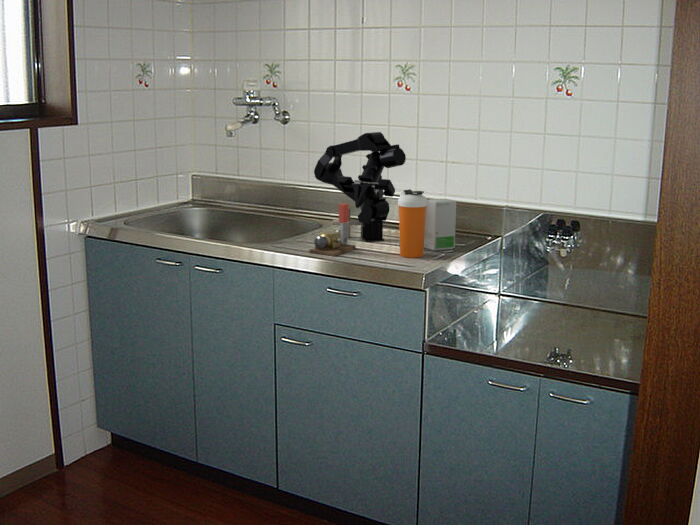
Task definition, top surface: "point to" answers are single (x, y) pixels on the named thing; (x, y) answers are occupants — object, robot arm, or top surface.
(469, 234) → the top surface
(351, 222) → the pipe connector
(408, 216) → the shaker bottle
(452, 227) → the skincare box
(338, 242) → the valve stand
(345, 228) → the valve lever
